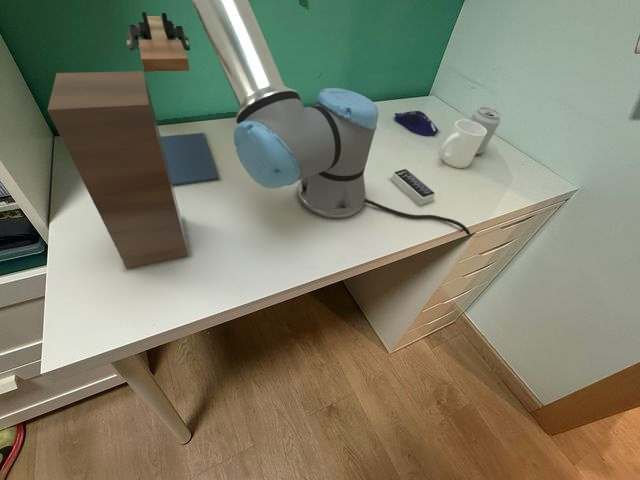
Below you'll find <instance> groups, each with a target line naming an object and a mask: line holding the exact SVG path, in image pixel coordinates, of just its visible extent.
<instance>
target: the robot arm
mask: <svg viewBox="0 0 640 480" xmlns="http://www.w3.org/2000/svg"><path fill="white" fill-rule="evenodd" d="M192 2H193V4H194V7H195V9H196V11H197V13H198V15H199V18H200V20H201V22H202V24H203V27H204V29H205V30H204V32H205V33H206V35H207V39H209V42H210V44H211V47H212V49H213V51H214V54H215V56H216V58H217V60H218V62H219V64H220V66H221V69H222V71H223V73H224V75H225V77H226V80H227V82H228V84H229V86H230V89H231V92H232V93H233V95H234V97H235V100H236V102H237V104H238V106H239V109H238V111H237V113H236V115H235V122H236V126H235V128H234V130H233V144H234V147H236V149H235V152H236V155H237V157H238V159H239V161H240V164H241V165H242V167H243V168H244V170H245V172H246V173H247V174H248V175H249V177H251V179H252V180H253V181H254V182H255V183H257V184H259V185H260V186H261V187H264V188H266V189H270V190H271V189H278V188H282V187H286V186H292V185H294V184H295V183H297V182H298V197H299V198H298V199H299V201H300V203H301V204H302V205H303V206H304V207H305V208H306V209H307V210H308V211H310V212H311V213H313V214H315V215H318V216H319V217H320V216H321V217H324V218H327V219H346V218H350V217H352V216H354V215H356V214H358V213H359V212H360V211H361V210H362V209H363V207H364V204H365V203H366V204H369V205H371V206H373V207H375V208H377V209H381V210H384V211H386V212H388V213H391V214H394V215H396V216H401V217H404V218H408V219H415V220H417V219H419V220H422V219H423V220H424V219H432V220H438V221H442V222H447V223H449V224H453V225H456V226H458V227H459V228H461V230H463V231H464V232H465V234H466V235H469V236H470V235H471V232H470V230H469V229H468V227H466V225H464V224H463V223H461V222H459V221H457V220H455V219H451V218H448V217H445V216H444V217H443V216H439V215H434V214H411V213H405V212H401V211H398V210H396V209H392V208H389V207H387V206H385V205H382V204H380V203H377V202H375V201H372V200H370V199H368V198H366V184H365V183H366V182H365V174H364V173H365V170H366V165H367V162H368V158H369V154H370V151H371V147H372V143H373V140H374V136H375V132H376V130H377V129H378V127H377V124H378V119H379V108H378V107H377V105H376V104H375V102H374V101H372V99H370V98H368V97H367V96H364V94H363V95H362V94H361V93H358V92H355V91H352V90H348V89H345V88H338V87H327V88H323V89H321V90H320V91H319V93H318V95H317V96H316V104H315V105H311V106H306V107H305V106H304V103H303V101H302V99H301V96H300V95H299V92H298V91H297V90H296V89H292V88H290V87H288V86H286V85H285V82H284V80H283V78H282V75H281V73H280V71H279V68H278V66H277V64H276V62H275V59H274V56H273V55H272V53H271V50H270V47H269V46H268V44H267V41H266V39H265V36H264V34H263V31H262V29H261V27H260V25H259V22H258V20H257V17H256V16H255V13H254V11H253V9H252V7H251V4H250V1H249V0H192ZM142 17H143V21H144V22H137V23H138V27H136V26H135V25H133V23H132V24H129V25H128V35H126V36H125V41H126V44H127V48H128V50H129V51H131V52H132V51H135V50H140V47H139V37H141V38H142V39H140V40H152V37H151V32H150V28H149V23H148V19H147V14H146V12H142ZM162 22H163V26H164V29H165V32H166V36H167V39H168V40H181V42H182V45H183V47H184V50H185V51H187V52H189V51H191V45H190V39H189V37H188V36H186V35H185V31H183V28H182V26H176V28H174V24H173V23H172V21H169V20H167V15H166V13H162ZM176 38H177V39H176Z"/></svg>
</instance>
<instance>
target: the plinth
mask: <svg viewBox="0 0 640 480" xmlns="http://www.w3.org/2000/svg"><path fill="white" fill-rule="evenodd" d="M47 112H48V114H49V116H50V118H51V121H52V122H53V124H54V126H55V128H56V130H57V132H58V134H59V135H60V138H61V141H62V142H63V144H64V146H65V148H66V150H67V152H68V154H69V156H70V158H71V160H72V162H73V164H74V166H75V168H76V170H77V172H78V174H79V176H80V178H81V180H82V182H83V185H84V187H85V188H86V191H87V192H88V194H89V196H90V198H91V201H92V202H93V204H94V206H95V208H96V211H97V212H98V214H99V216H100V218H101V221H102V222H103V224H104V227H105V229H106V230H107V233H108V234H109V237H110V238H111V240H112V243H113V245H114V247H115V249H116V250H117V252H118V255H119V256H120V259H121V260H122V263H123V264H124V267H125V268H126V270H129V269H134V268H135V269H136V268H139V267H144V266H148V265H153V264H158V263H163V262H167V261H172V260H177V259H182V258H187V257H189V256H190V255H189V252H188V245H187V240H186V234H185V230H184V224H183V219H182V215H181V212H180V207H179V204H178V199H177V196H176V192H175V188H174V186H173V184H172V180H171V176H170V172H169V168H168V164H167V160H166V156H165V152H164V148H163V144H162V140H161V136H162V135H161V133H160V128H159V125H158V122H157V121H158V120H157V117H156V113H155V109H154V106H153V101H152V98H151V94H150V89H149V86H148V82H147V77H146V74H145V71H144V70H133V71H130V70H129V71H91V72H88V71H87V72H85V71H84V72H83V71H82V72H56V74H55V78H54V82H53V86H52V91H51V94H50V99H49V102H48V107H47Z"/></svg>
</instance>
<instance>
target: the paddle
mask: <svg viewBox="0 0 640 480" xmlns="http://www.w3.org/2000/svg"><path fill="white" fill-rule="evenodd" d="M147 19H148V23H149V28H150V32H151V37H152V40H139V47H138V48H139V53H140V59H141V63H142V67H143V71H144V73H148V72H150V73H151V72H152V73H154V71H174V72H190V65H189V58H188V56H187V53H186V50H184V47H183V45H182V42H181V40H179V39H176V40H168V39H167V36H166V32H165V29H164V26H163V22H162V19H161V17H160V16H147Z"/></svg>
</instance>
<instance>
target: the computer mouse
mask: <svg viewBox="0 0 640 480" xmlns="http://www.w3.org/2000/svg"><path fill="white" fill-rule="evenodd" d="M394 119H395V122H397V123H399V124H400V125H402V126H403V127H404V128H406V129H408V130H409V131H411V132H412V133H415V134H418V135H420V136H421V135H422V136H430V137H431V136H432V137H433V136H435V135H436V134H437V133H438V132H439V129H438V128H437V126H436V125H435V124H434V122H433V121H432V120H431V119H430V118H429V117H428V116H427V114H425V112H422V111H420V110H410V111H405V112H403V113H402V112H398V113H397V112H394Z"/></svg>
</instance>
